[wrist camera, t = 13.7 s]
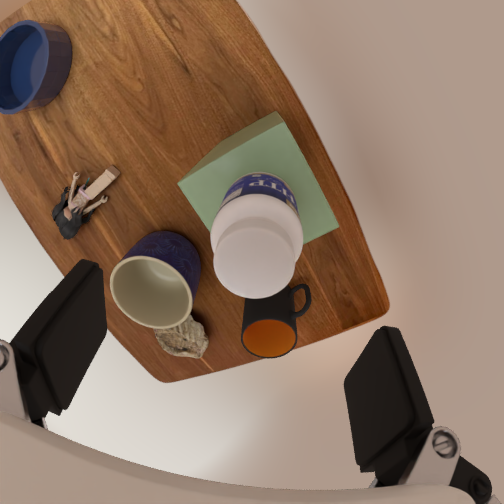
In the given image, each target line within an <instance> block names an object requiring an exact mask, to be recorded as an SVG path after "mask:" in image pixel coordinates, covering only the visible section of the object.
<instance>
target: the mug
mask: <svg viewBox="0 0 504 504" xmlns="http://www.w3.org/2000/svg"><path fill="white" fill-rule="evenodd" d="M301 288H303V289H304V290H305V295H306V303H305V305H304V307H303V308H302V309H301V310H300V311H299V312H295V306H294V296H293V294H294V293H295V292H296V291H297V290H299V289H301ZM310 304H311V293H310V288H309V286H308V285H306V284H299V285H297V286H295V287H294V288H293V289H292V290H291V289H290V287H289V286H288V285H286V287H284V288H283V289H282V290H281V291H279V292H278V293H276V294H274V295H272V296H269V297H265V298H258V299H252V298H245V306H244V315H243V324H242V333H241V342H242V344H243V346H244V348H245V349H246V350H247V351H248V352H249V353H251V354H253V355H255V356H257V357H261V358H277V357H281V356H283V355H286V354H287V353H289V352H290V351H291V350H292V349H293V348H294V347H295V345H296V343H297V327H296V318H297V317H300V316H302V315H303V314H304V313H305V312H306V311H307V310H308V309H309V307H310Z"/></svg>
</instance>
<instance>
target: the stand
mask: <svg viewBox="0 0 504 504" xmlns="http://www.w3.org/2000/svg"><path fill="white" fill-rule="evenodd" d="M253 172H266V173H270V174H273V175H276V176H278V177H279V178H281V179H282V180H284V181H285V182H286V183H287V184H288V185H289V187H290V188H291V190H292V191H293V193H294V196H295V199H296V203H297V208H298V212H299V216H300V220H301V225H302V230H303V244H305V243H307V242H309V241H311V240H313V239H315V238H317V237H319V236H321V235H323V234H325V233H328V232H330V231H332V230H334V229H336V228H338V227H339V224H338V222H337V220H336V218H335V216H334V214H333V212H332V210H331V208H330V206H329V204H328V202H327V200H326V198H325V196H324V194H323V192H322V190H321V188H320V186H319V184H318V182H317V180H316V178H315V176H314V174H313V172H312V171H311V169H310V167H309V165H308V163H307V161H306V159H305V157H304V156H303V154H302V152H301V150H300V148H299V146H298V145H297V143H296V141H295V139H294V138H293V136H292V134H291V132H290V130H289V129H288V127H287V125H286V123H285V122H284V120H283V119H282V118H281V116H280V115H279V114H278V112H277V111H274V112H272V113H271V114H269V115H267V116H265V117H263V118H261V119H259V120H258V121H256V122H254V123H252V124H250V125H249V126H247V127H245V128H243V129H242V130H240V131H238V132H236V133H235V134H233V135H231V136H229V137H228V138H226V139H224V140H223V141H221V142H220V143H219V144H217V145H216V146H215V147H214V148H213V149H212V150H211V151H210V152H209V153H208V154H207V155H206V156H205V157H204V158H203V159H201V160H200V161H199V162H198V163H197V164H196V165H195V166H194V167H193V168H192V169H191V170H190V171H189V172H188V173H187V174H186V175H185V176H184V177H183V178H182V179H181V180H180V181H179V182H178V183H177V184H178V186H179V187H180V189H181V190H182V192H183V193H184V195H185V196H186V198H187V199H188V201H189V202H190V204H191V205H192V207H193V208H194V209H195V211H196V212H197V214H198V215H199V217H200V218H201V220H202V221H203V223H204V224H205V226H206V227H207V229H208V230H209V231H210V233H211V229H212V225H213V222H214V219H215V217H216V214H217V212H218V210H219V208H220V205H221V203H222V201H223V199H224V197H225V195H226V193H227V191H228V189H229V188H230V186H231V185H232V184H233V183H234V182H235V181H236V180H237V179H239V178H240V177H242V176H244V175H246V174H249V173H253Z"/></svg>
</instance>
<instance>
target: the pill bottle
mask: <svg viewBox="0 0 504 504" xmlns="http://www.w3.org/2000/svg"><path fill="white" fill-rule="evenodd" d="M211 246H212V249H213V252H214V270H215V273H216V275H217V277H218V279H219V281H220V282H221V283H222V285H223V286H224V287H226V288H227V289H228V290H229V291H231V292H233V293H234V294H236V295H239V296H242V297H245V298H252V299H258V298H265V297H269V296H272V295H274V294H276V293H278V292H279V291H281V290H282V289H283V288H284V287H286V285H287V284H288V283H289V281H290V280H291V278H292V276H293V273H294V269H295V263H296V261H297V260H298V258H299V256H300V254H301V251H302V246H303V230H302V225H301V220H300V216H299V212H298V208H297V203H296V199H295V196H294V193H293V191H292V190H291V188H290V187H289V185H288V184H287V183H286V182H285V181H284V180H282V179H281V178H279V177H278V176H276V175H273V174H270V173H266V172H253V173H249V174H246V175H244V176H242V177H240V178H239V179H237V180H236V181H235V182H234V183H233V184H232V185H231V186H230V188H229V189H228V191H227V193H226V195H225V197H224V199H223V201H222V203H221V205H220V208H219V210H218V212H217V214H216V217H215V219H214V222H213V225H212V229H211Z"/></svg>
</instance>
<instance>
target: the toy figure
mask: <svg viewBox="0 0 504 504" xmlns="http://www.w3.org/2000/svg"><path fill="white" fill-rule="evenodd" d="M120 173H121V172H120V171H119V170H117V169H116V168H115V167H114V166H113V165H111V166H110V167H109V168H108V169H107V170H106V171H105V172H104V173H103V174H102V175H101V176H100V177H99V178H98V179H97V180H96V181H94V182H93V183H92V184H91V185H90V186H89V187H87V184H88V181H89V178H90V177H89V178H88V180H87V182H86V184H85V185H84V184H83V185H82V186H81V187H80V186H78V185H77V187H76V189H75V186H76V180H77V179H79V177H80V175H78V176H76V175H77V174H78V172H75V173H74V175H73V178H74V180H73V182H72V185H71V187H70V189H68V187H66V188H65V189H64V188H63V189H64V192H63V194H62V195H61V202H60V203H59V204H58V205H56V207H54V208H53V209H54V210H53V212H52V211H51V212H52V215H51V216H53V220H54V221H55V222H56V224H57V226H58V227H59V230H60V233H61V235H62V236H63V237H64V239H65V238H66V239H67V240H68V239H71V238H73V237H74V236H75V235H76V234H77V232H78V230H79V228H80V226H81V225H82V224H83V223H86V222H88V221H89V220H91V219H90V217H91V215H92V214H93V213H92V212H94V210H95V207H97V206H98V205H100V204H101V202H102V203H104V202H106V201H107V197H106V198H105V199H103V198H104V195H103V196H102V197H101V200H99V201H97V202H95V203H93V204H92V205H90V206H88V207H86V206H87V204H88V202H89V200H90V199H91V200H92V199H94V198H95V197H96V196H97V195H98V194H99V193H100V192H101V191H102V190H103V189H104V188H106V187H107V186H108V185H109V184H110V183H111V182H112V181H113V180H115V179H116V178H117V177H118V175H119V174H120ZM79 187H80V188H79ZM67 190H70V192H69V191H67ZM78 190H79V191H78ZM67 192H69V197H68V199H67V200H66V201H65V195H66V193H67ZM77 192H78V193H77ZM85 207H86V208H85ZM89 211H90V212H89ZM88 212H89V214H88V217H85V218H82V217H83V216H84V214H85V215H86V213H88ZM82 215H83V216H82ZM89 222H90V221H89ZM89 222H88V223H89ZM86 224H87V223H86ZM83 225H84V224H83ZM76 236H77V235H76ZM76 236H75V237H76ZM75 237H74V238H75Z"/></svg>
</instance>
